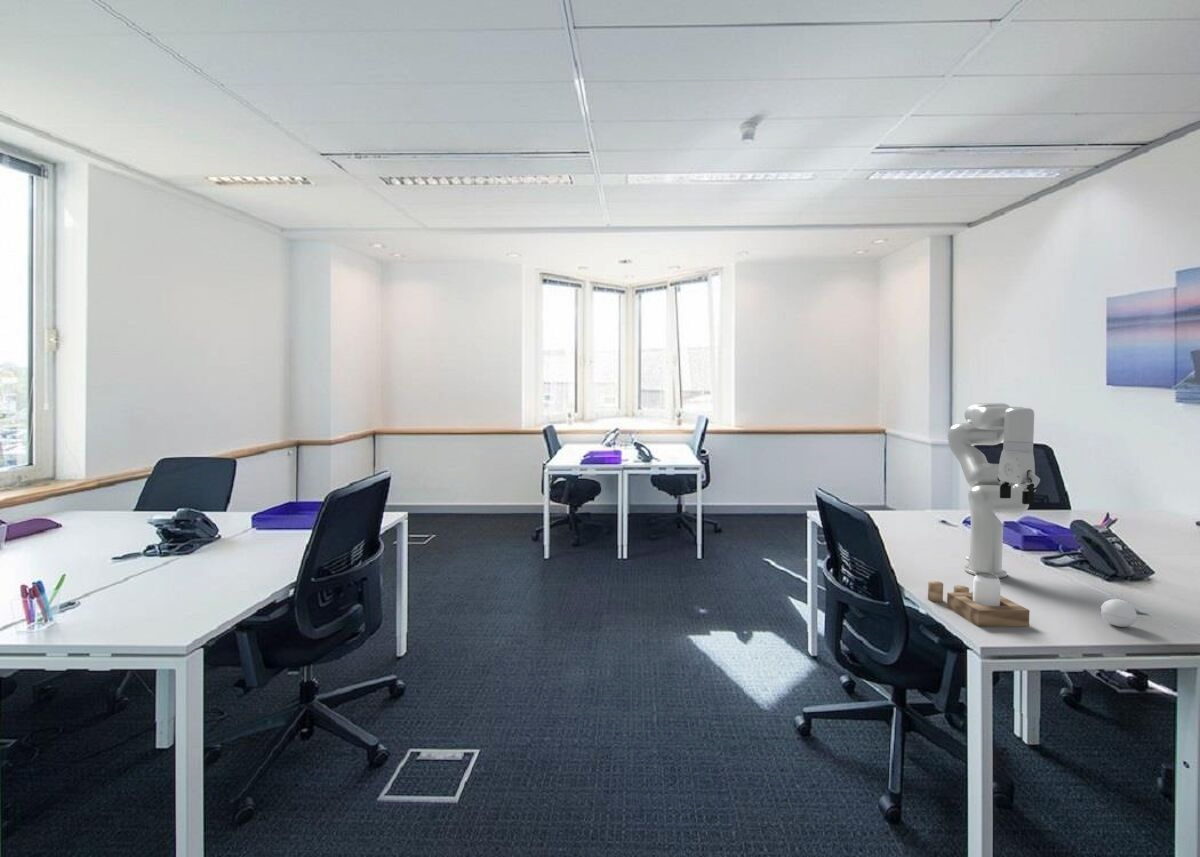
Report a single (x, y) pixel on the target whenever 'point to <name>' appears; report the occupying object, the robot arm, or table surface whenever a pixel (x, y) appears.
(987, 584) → the can
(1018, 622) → the wooden rectangular frame
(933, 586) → the peg mid
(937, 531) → the table surface
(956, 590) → the peg short
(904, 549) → the table surface
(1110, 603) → the white rounded egg-shaped part
